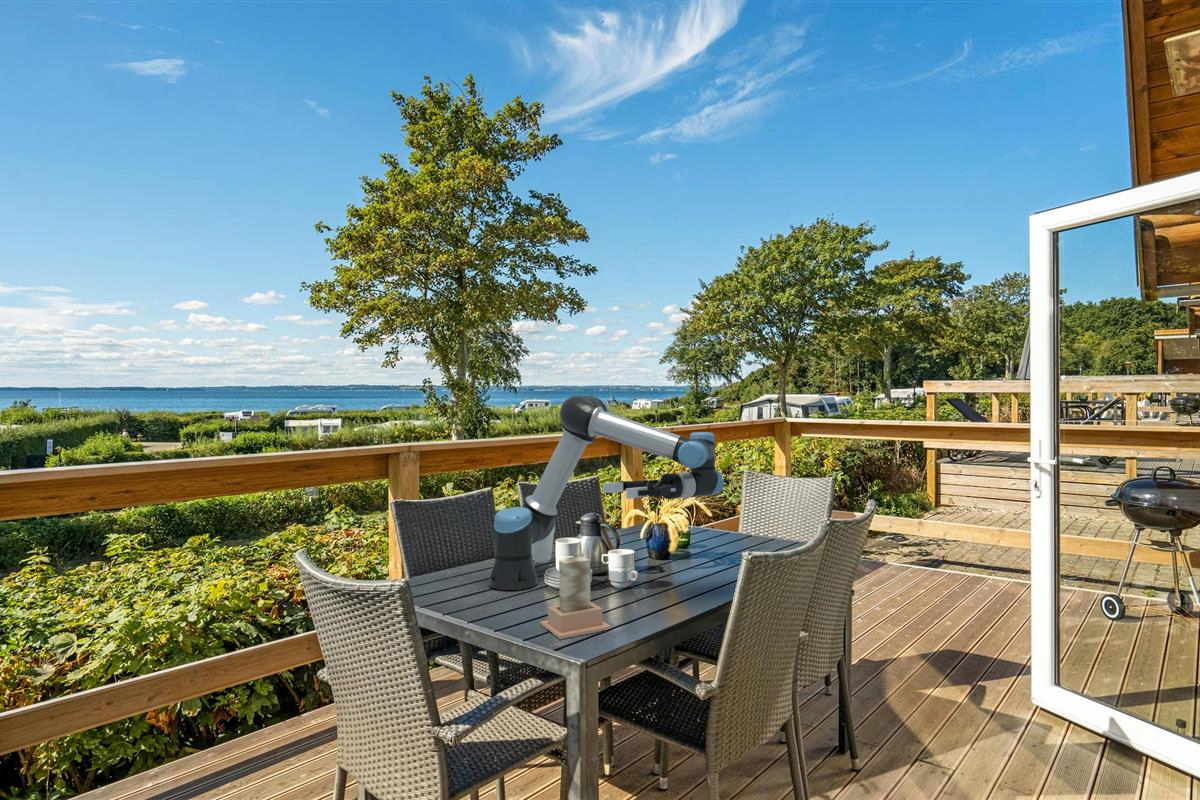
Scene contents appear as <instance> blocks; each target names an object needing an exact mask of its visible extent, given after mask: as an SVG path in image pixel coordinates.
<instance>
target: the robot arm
mask: <svg viewBox="0 0 1200 800" xmlns="http://www.w3.org/2000/svg"><path fill="white" fill-rule="evenodd" d="M559 410H560V411H559V419H560V421H561V424H562V425H561V429H562V435H561V437H560V439H559V441H558V443H557V445H556V447H555V449H554V452H553V453H552V455H551V458H550V460H549V461H548V463H547V465H546V468H545V470H544V471H543V474H541V477H540V479H539V481H538V483H537V486H536V488H535V489H534V491H533V494H531V495H528V496H526V497H525V499H524V500H523V504H522V505H521V507H520V506H515V507H514V506H513V507H509V508H504V509H501V510H499V511H498V512H496V513H495V515H494V523H493V538H494V540H493V543H494V544H493V545H494V547H493V548H494V562H493V565H492V569H491V571H490V575H489V579H488V586H489V585H490V586H491V587H493V588H496V589H501V590H518V591H522V590H521V589H525V590H528V589H527V588H529V589H531V588H530V587H532V588H534V587H536V586H537V585H538V583H537V582H538V574H537V572H536V568H535V565H534V563H533V558H532V544H533V543H536V542H538V541H541V540H543V539H545V538H546V537H547V536H548V535H549V534H550V533H551V532H552V530H553V528H554V525H555V524H556V519H555V518H556V516H557V515H558V509H557V507H556V506H557V504H558V502H559V500H560V498H561V496H562V494H563V492H564V490H565V489H566V486H567V485H568V482H569V480H570V479H571V476H572V475H573V473H574V471H575V469H576V467H577V465H578V463H579V461H580V458H581V456H582V455H583V454H584V451H585V449H586V447H587V446H588V445H589V444H592V443H594V441H595V440H596V437H598V436H599V437H602V438H605V439H607V440H610V441H614V442H617V443H620V444H623V445H625V446H629V447H633V448H634V449H638V450H640V451H644V452H647V453H650V454H653V455H656V456H659V457H662V458H664V459H668V460H671V461H674V462H676V463H679V464H680V465H682V466H684V467H686V468H687V469H690V471H684V472H674V473H664V474H663V475H662V476H661V477H660V480H659V479H653V480H650V479H649V480H626V481H625V480H620V481H619V482H618V481H617V482H608V483H602V494H603V493H604V494H605V493H606V494H607V493H619V492H620V493H621V494H624V492H625V498H626V499H627V500H628V499H639V498H648V497H649V498H652V497H654V498H656V499H658V498H661V497H663V498H664V499H666V500H675V499H683V500H687V498H695V497H697V498H699V497H709V496H715V495H719V494H720V493H721V492H722V491H723V488H724V483H725V481H724V479H723V475H722V473H721V472H720V471H718V470H716V441H715V437H716V436H715V434H714V432H707V431H700V432H699V431H698V432H691V433H690V435H689V437H686V436H682V435H679V434H676V433H673V432H670V431H666V430H664V429H661V428H657V427H655V426H651V425H648V424H646V423H645V424H644V423H642V422H638V421H635V420H632V419H629V418H626V417H623V416H621V415H617V414H613V413H611V412H610V410H609V407H608V404H606V402H605V401H604V400H603V399H601V398H600V397H598V396H594V395H591V394H589V395H579V394H578V395H573V396H570V397H568V398H566V400H564V402H563V403H562V404H561V405H560V409H559ZM536 584H537V585H536ZM535 585H536V586H535ZM490 586H489V587H490ZM533 586H534V587H533ZM491 587H490V588H491ZM501 590H500V591H501Z"/></svg>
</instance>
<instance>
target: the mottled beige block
mask: <svg viewBox="0 0 1200 800" xmlns="http://www.w3.org/2000/svg"><path fill="white" fill-rule="evenodd" d="M558 566H559V567H558V575H559V576H558V580H559V584H558V585H559V586H558V587H559V591H558V592H559V593H558V594H559V605H560V611H561V612H563V613H569V612H574V611H580V610H586V609H591V602H592V601H591V559H588V558H587V557H585V556H583V557H577V558H568V559H560V560H558Z"/></svg>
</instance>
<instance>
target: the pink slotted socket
mask: <svg viewBox="0 0 1200 800" xmlns="http://www.w3.org/2000/svg"><path fill="white" fill-rule="evenodd" d="M590 602H591V609H586V610H580V611H574V612H569V613H563V612H561V611H560V604H559V605H552V606H547V619H546V620H541V621H540V622H539V623H540V624H541V625H542V626H543V627H545V628H546V629H548V630H549V631H550V632H552V633H553V634H554V635H555V636H557V637H558V638H564V637H569V636H575V635H579V634H584V633H591V632H596V631H602V630H608V629H611V630H612V626H611V625H610V624H608V623H607V622H605V621H604V620H603V618H604V617H603V616H604V615H603V608H602V607H601V606H599V605H597V604H595V603H593V602H592V601H590ZM540 624H539V625H540ZM541 625H540V626H541ZM542 626H541V627H542ZM543 627H542V628H543ZM546 629H545V630H546ZM550 632H549V633H550ZM555 636H554V637H555Z"/></svg>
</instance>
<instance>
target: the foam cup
mask: <svg viewBox="0 0 1200 800" xmlns="http://www.w3.org/2000/svg"><path fill="white" fill-rule="evenodd" d="M555 528H556V527H555V525H554V528H553V530H552V532H551V533H550V534H549V535H548V536H547V537H546V538H545V539H543V540H541V541H538V542H536V543H533V544H532V561H533V560H536V561H547V560H550V559H551V560H552V553H553V546H554V538H555V532H556V529H555Z"/></svg>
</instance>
